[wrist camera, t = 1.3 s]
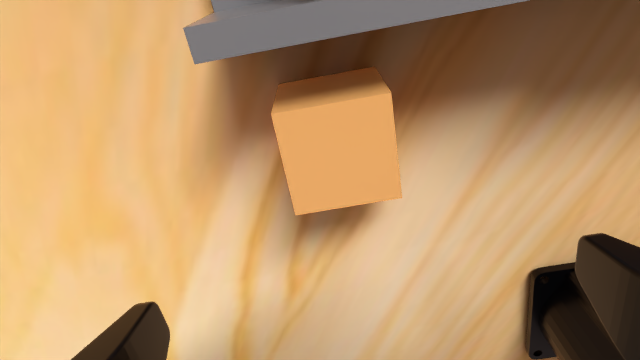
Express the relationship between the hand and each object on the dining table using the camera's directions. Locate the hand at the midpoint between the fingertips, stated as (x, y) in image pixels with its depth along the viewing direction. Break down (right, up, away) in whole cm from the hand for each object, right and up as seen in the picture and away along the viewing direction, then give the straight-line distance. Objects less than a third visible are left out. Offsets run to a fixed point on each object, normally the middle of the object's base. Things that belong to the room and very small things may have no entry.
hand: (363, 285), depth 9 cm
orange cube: (0, +5, +9) cm, 11 cm away
